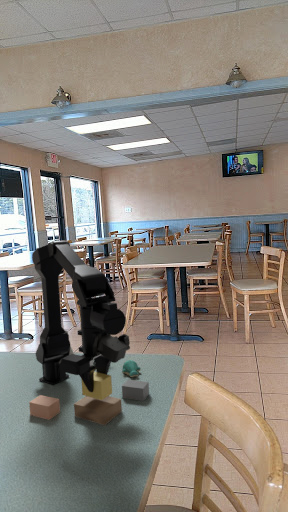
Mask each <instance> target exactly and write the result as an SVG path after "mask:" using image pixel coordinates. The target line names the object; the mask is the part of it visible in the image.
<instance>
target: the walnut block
mask: <svg viewBox="0 0 288 512" xmlns="http://www.w3.org/2000/svg"><path fill="white" fill-rule="evenodd" d="M122 410H123V406H122V399H121V398H118V397H114V396H111V395H109V396H108V397H106V398H105V399H103V400H99V399H95V398H92V397H88V396H84V397H82V398H81V399H79V400H77V401H76V402H75V403H73V411H74V417H75V418H78V419H82V420H85V421H89V422H93V423H96V424H98V425H101V426H106V425H107V424H108V423H109V422H111V421H112V420H113V419H114V418H116V417H117V416H118V415H120V414H121V413H122Z"/></svg>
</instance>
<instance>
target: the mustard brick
mask: <svg viewBox="0 0 288 512" xmlns="http://www.w3.org/2000/svg"><path fill="white" fill-rule="evenodd" d="M80 379H81V378H80ZM80 381H81V392H82V396H84V397H85V396H88V397H92V398H95V399H99V400H103V399H105V398H106V397H108V396H111V395H112V394H113V384H112V375H110V374H108V373H107V374H102V373H98V372H97V371H94V389H93V392H89V391H88V389H87V387H86V386H85V384H84V382H83V380H82V379H81V380H80Z"/></svg>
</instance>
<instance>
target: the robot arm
mask: <svg viewBox="0 0 288 512" xmlns="http://www.w3.org/2000/svg"><path fill="white" fill-rule="evenodd" d="M31 258H32V263H33V265H34V269H35V272H36V273H37V274H38V275H39V277H40V278H41V290H42V291H41V293H42V302H43V304H42V305H43V306H42V307H43V317H44V327H43V330H42V331H41V333H40V334H39V344H38V347H37V348H36V351H35V359H36V361H37V362H38V363H40V364H41V366H42V368H41V369H42V377H40V378H39V379H38V380H39V382H44V383H48V384H51V385H56V384H58V383H60V382H62V381H64V380H65V379H68V378H69V377H70V375H74V376H79V377H80V379H82V380H83V382H84V384H85V386H86V387H87V389H88V391H89V392H93V389H94V372H98V373H102V374H107V375H108V373H109V369H110V366H111V363H112V364H113V363H114V364H115V363H117V362H119V361H120V360H122V359H124V358H125V357H126V352H127V351H128V350H130V349H131V345H130V343H131V341H130V337H129V335H128V334H125V333H123V334H121V335H119V336H118V334H120V333H122V331H123V330H124V328H125V326H126V322H127V317H126V316H125V313H124V312H123V310H121V309H119V308H118V304H117V303H116V297H115V292H114V289H113V288H112V286H111V285H110V283H109V280H108V278H107V277H106V274H104V273H103V271H101V270H99V269H98V268H97V267H93V266H89V265H88V264H86V263H85V261H84V260H83V259H82V258H81V256H79V255H78V253H76V251H75V250H74V249H73V248H72V247H71V243H70V242H69V241H68V240H56V241H51V242H48V244H46V245H43V246H40V247H37V248H35V250H34V251H32V255H31ZM63 270H64V271H65V272H66V274H67V275H68V276H69V277H70V279H71V281H72V282H71V289H72V291H73V293H74V295H75V297H76V298H77V299H78V300H77V301H76V305H78V306H79V314H80V315H79V316H80V317H79V318H80V329H78V330H77V336H81V346H79V347H78V352H79V353H83V354H82V355H79V354H76V353H74V354H71V355H69V354H70V345H71V341H70V336H69V332H68V333H66V332H65V330H66V329H64V328H63V325H62V311H61V309H62V308H61V296H60V293H61V292H60V283H59V282H60V280H59V278H60V275H61V274H62V272H63ZM82 380H81V381H82Z"/></svg>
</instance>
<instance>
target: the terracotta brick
mask: <svg viewBox="0 0 288 512" xmlns="http://www.w3.org/2000/svg"><path fill="white" fill-rule="evenodd" d="M28 404H29V413H30V416H32V415H33V416H32V417H36V418H40V419H45V420H48V421H49V420H51V419H53V418H54V417H55V416H57V415H58V414H59V413H60V412H61V408H60V399H59V398H57V397H56V398H55V397H51V396H46V395H41V394H39V395H38V396H37V397H35V398H33V399H32V400H30V401H29V402H28Z"/></svg>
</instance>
